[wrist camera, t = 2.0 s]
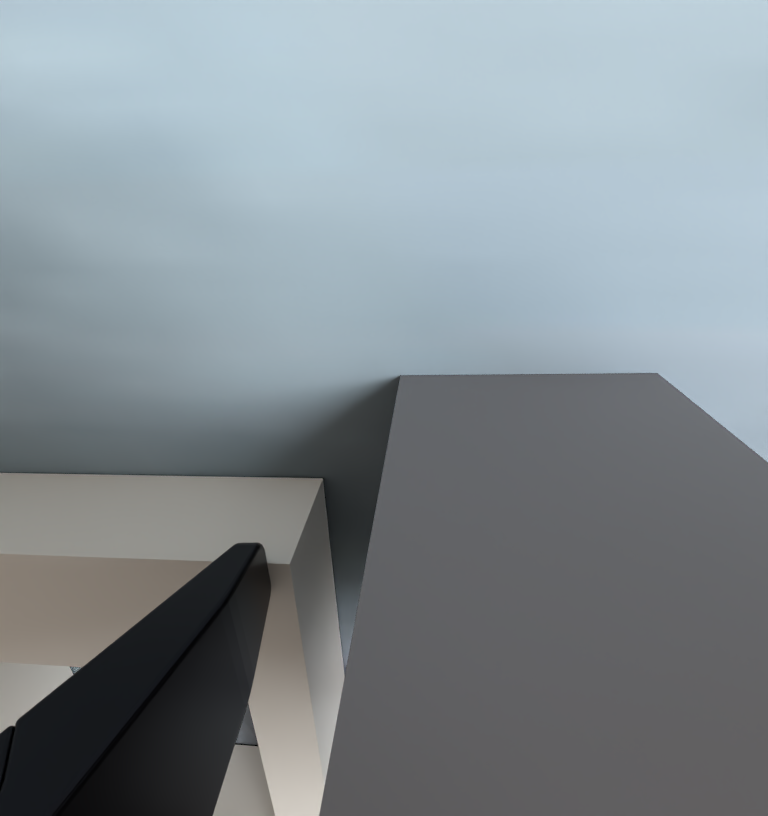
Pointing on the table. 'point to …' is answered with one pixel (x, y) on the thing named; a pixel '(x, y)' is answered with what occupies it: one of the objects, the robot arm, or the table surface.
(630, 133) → the table surface
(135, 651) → the robot arm
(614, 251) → the table surface
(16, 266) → the table surface
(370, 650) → the plug
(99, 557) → the faceplate
